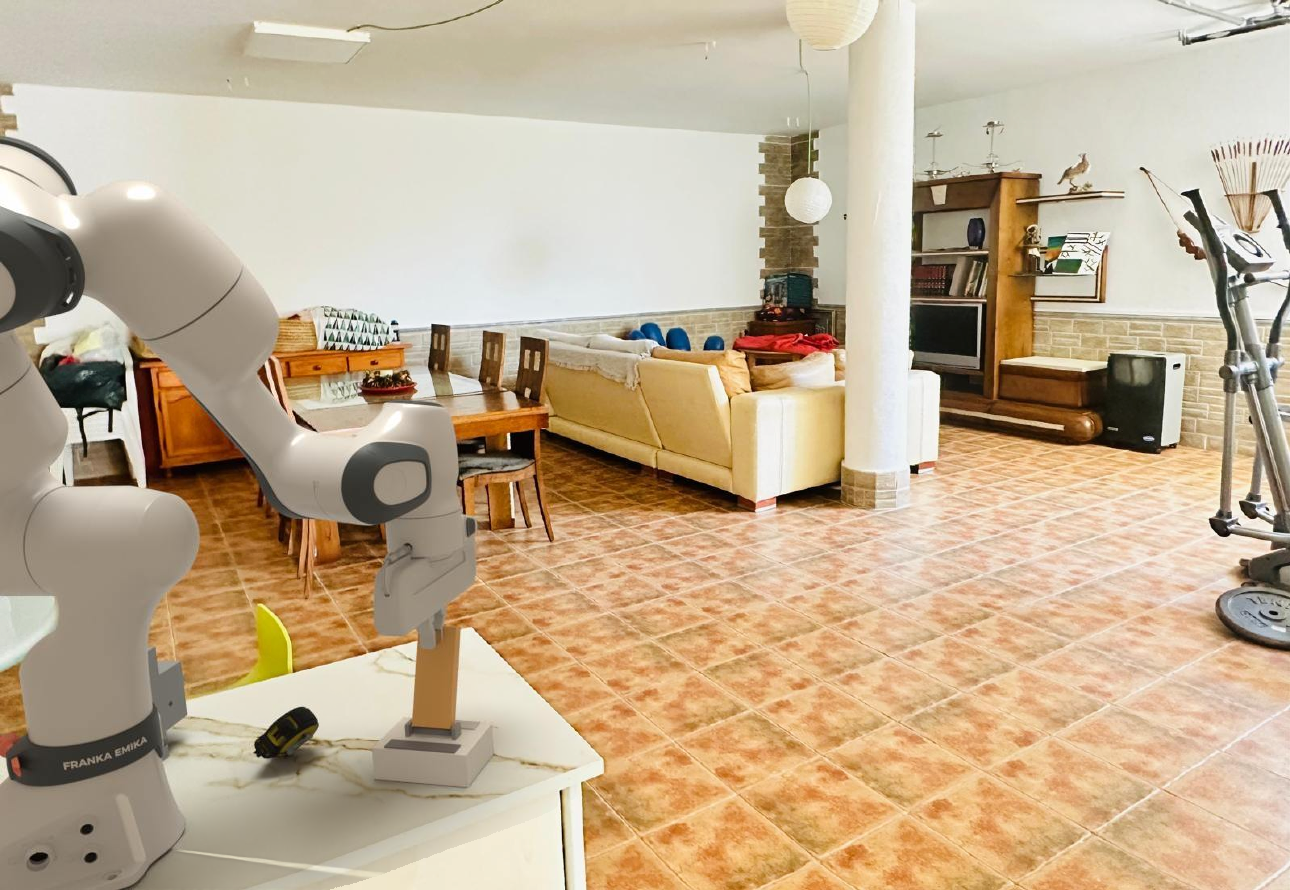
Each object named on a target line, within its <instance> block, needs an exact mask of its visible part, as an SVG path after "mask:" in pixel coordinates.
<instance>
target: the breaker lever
mask: <svg viewBox="0 0 1290 890" xmlns="http://www.w3.org/2000/svg"><path fill="white" fill-rule="evenodd" d="M461 629H462V627H461V626H456V625H455V626H452V625H444V626H443V641H442V642H440V643H439V644H438V645H437V646H436V647H434V648H433V649H423V648H421V646H420V635H419V634H418V633H417V640H416V641H417V643H416V654H415V656H416V659H415V673H414V674H415V675H414V689H413V702H412V717H411V718H412V726H413V729H412V732H413V733H418V734H431V735H444V736H452V734H451V728H452V727H453V726H454V725H455V720H456V713H457V710H456V709H457V694H458V679H459V664H460V648H461V645H460V644H461V634H462V633H461V631H462V630H461Z"/></svg>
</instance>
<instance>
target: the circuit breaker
mask: <svg viewBox="0 0 1290 890" xmlns="http://www.w3.org/2000/svg"><path fill="white" fill-rule="evenodd" d="M148 665H149V677H150V688H151V697H152V702H154V704H155V707H157V709H158V713H159V715H160V720H161V727H162V734H163V744H164V746H163V756H162V761H163V762H164V761H166V760H167V759H168V758H169V757H170V751H169V750H170V749H169V744H165V740H168V734H167V731H168V730H169V729H171V728H172V727H174V726H175V725H176V724H178V723H179V722H180V721H181V720H183V719H185V718H186V717H187V716H188V709H187V700H186V691H185V684H184V683H185V682H186V679H185V678H186V677H185V675H184V674H183V668H182V667H183V666H182V661H178V660H158V656H157V649H156V646H148Z"/></svg>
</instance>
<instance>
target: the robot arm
mask: <svg viewBox="0 0 1290 890" xmlns="http://www.w3.org/2000/svg"><path fill="white" fill-rule="evenodd" d="M77 192H78V191H77V189H76V187H75V184H74V182H73V180H72V178H71V176H70V175H69V173H68V172H67V170H66V169H65V168H64V167H63V165H62V164H60V162H59V161H58V160H57V159H56V158H54V157H53V156H52V155H51V154H49V153H48V152H46V151H45V150H44V149H42V148H41V147H38V146H36V145H34V144H33V143H30V142H29V141H25V140H23V139H19V138H15V137H11V136H4V135H0V597H55V598H56V601H57V605H58V618H57V624H56V627H55V629H54V630H53V631H51V632H50V633H48V634H47V635H45V636H44V637H42V638H41V639H39V640H38V641H37V642H36V643H35V644H33V646H32V647H30V649H29V650H28V651H27V652H26V654H25V655H24V656H23V659H22V660H21V662H20V666H19V670H18V677H19V682H20V689H21V691H20V692H21V696H22V701H23V702H22V703H23V709H24V715H25V722H26V729H27V732H26V733H25V734H24V735H22V736H21V737H20V735H19V734H18V735H17V733H14V732H9V733H5V734H2V736H0V757H2V758H4V759H5V761H6V762H5V763H6V770H7V773H8V777H6V778H5V779H4V780H3V781H2V782H1V783H0V890H121V889H124V888H127V887H130V886H132V885H134V884H136V883H137V882H138V881H139V880H141V878H143V876H144V874H146V872H147V870H148V869H149V867H150V866H151V864H152V863H153V862H155V861H156V860H157V859H159V858H160V857H161V856H163V855H164V854H165V853H166V852H168V851H169V850H170V849H171V848H172V847H173V846H174V845H175V844H176V843H177V842H178V841H179V839H180V838H181V836H182V835H183V833H184V830H185V828H186V819H185V817H184V815H183V813H182V811H181V810H180V808H179V806H178V803H177V802H176V799H175V797H174V795H173V792H172V789H171V786H170V783H169V780H168V777H167V773H166V770H165V766H164V761H162V756H163V746H164V744H163V734H162V727H161V720H160V715H159V713H158V709H157V707H155V704H154V702H152V697H151V688H150V677H149V665H148V647H149V646H148V645H149V641H148V640H149V634H150V629H151V624H152V621H153V618H154V615H155V612H156V610H157V609H158V606H159V604H160V603H161V601H162V599H163V598H164V597H165V596H166V594H168V592H169V591H170V590H171V589H172V588H173V587H174V586H176V585H177V584H179V582H180V581H181V580H182V579H184V577H185V576H186V575H187V574H188V572H189V571H190V570H191V568H192V567H193V565H194V564H195V563H194V562H195V560H196V558H197V555H198V551H199V547H200V537H201V535H200V528H199V524H198V520H197V518H196V515H195V513H194V511H193V510H192V509H191V507H190V506H189V504H188V503H187V502H186V501H185V500H184V499H183V498H182V497H180V496H179V495H177V494H173V493H171V492H166V491H161V490H155V489H151V488H146V487H139V486H135V485H134V486H133V485H102V486H101V485H100V486H99V485H97V486H95V485H94V486H73V485H72V486H71V485H67V484H66V485H65V484H64V483H62V482H61V481H59V480H57V479H56V478H55V477H54V476H53V474H52V473H51V471H50V469H49V468H50V467H51V466H53V464H54V463H55V462H56V461H57V460H58V458H59V457H60V456H61V454H62V453H63V451H64V449H65V447H66V444H67V439H68V435H69V423H68V419H67V416H66V415H65V412H64V411H63V410H62V408H61V406H60V405H59V403H58V401H57V400H56V397H55V396H54V395H53V393H52V391H51V390H50V387H49V386H48V385H47V383H46V381H45V379H44V378H43V376H42V374H41V372H39V370H38V368H37V366H36V365H35V363H34V361H33V360H32V358H31V356H30V355H29V353H28V351H27V350H26V348H25V346H24V344H23V343H22V342H21V339H20V338H19V337H18V336H17V335H18V334H17V333H16V331H15V330H16V329H18V328H21V327H23V326H26V325H28V324H30V323H32V322H34V321H37V320H40V319H44V318H49V317H54V316H58V315H62V314H66V313H68V312H71V311H73V310H74V309H75V308H76V307H77V306H78V305H79V303H80V301H81V299H82V296H85V297H88V298H91V299H93V300H96V301H97V302H99V303H100V304H103V305H104V306H105V307H106V308H107V309H109V311H111V312H112V313H113V314H114V315H116V317H117V318H118V319H119V320H121V322H123V324H124V325H125V326H126V327H127V328H128V329H129V330H130V331H131V332H132V333H133V334H134V335H135V336H136V337H137V338H139V340H141V342H143V344H144V345H145V346H146V347H148V349H149V350H150V351H152V353H153V354H155V356H156V357H158V358H159V359H160V360H161V361H162V363H164V364H165V365H166V366H167V367H168V369H170V370H171V371H172V372H173V373H174V374H175V375H176V376H177V378H178V380H179V381H180V382H181V384H182V385H183V386H184V387H185V389H186V391H188V393H189V394H190V396H191V397H192V398H193V399H194V400H195V402H196V403H197V404H198V405H199V406H200V407H201V409H202V410H203V411H204V412H205V413H206V415H207V416H208V417H209V418H210V419H211V420H212V421H213V422H214V424H215V425H216V426H217V427H218V428H219V429H220V430H221V431H222V432H223V434H224V435H225V436H226V437H227V438H228V439H229V440H230V442H231V443H233V445H234V446H235V447H236V448H237V450H238V451H240V453H241V454H242V455H243V457H244V458H245V459H246V460H247V461H248V463H249V465H250V467H251V469H252V470H253V472H254V475H255V477H256V479H257V482H258V484H259V486H260V489H261V491H262V494H263V495H264V497H265V499H266V501H267V502H268V503H269V505H270V506H271V507H272V508H273V509H274V510H275V511H277V512H278V513H279V514H281V515H283V516H285V517H288V518H291V519H297V520H299V519H300V520H323V521H330V522H336V523H343V524H351V525H357V526H358V525H359V526H360V525H361V526H375V525H381V524H382V525H383V524H385V538H386V551H387V554H386V555H385V557H384V561H383V563H382V566H381V567H380V568H379V569H378V570H377V572H376V574H375V579H374V585H373V625H374V628H375V631H376V632H377V633H378V635H380V636H384V637H406V636H407V635H409V634H410V633H411V632H412V631H414V630H416V632H417V635H418V634H419V635H420V646H421V648H423V649H433V648H434V647H436V646H437V645H438V644H439V643H440V642H442V641H443V626H445V625H444V624H445V621H446V616H447V612H448V611H447V610H448V609H447V605H448V604H450V603H451V602H453V601H454V600H455V599H457V598H458V597H459V596H461V595H462V594H463V593H464V592H466V591H467V590H469V589H470V588H471V587H473V585H474V584H475V583H474V582H475V579H476V576H477V545H476V539H475V536H474V535H475V534H476V533H477V532H478V520H477V517H476V516H472V515H467V514H464V513H463V514H462V506H461V505H462V504H461V501H460V498H459V496H458V490H457V482H458V477H459V472H460V471H459V470H460V469H459V456H458V455H459V454H458V446H457V437H456V431H455V426H454V421H453V419H452V417H451V414H450V412H449V410H448V409H447V407H445V406H443V405H442V404H440V403H437V402H433V401H427V400H426V401H425V400H411V399H392V400H389V401H386V402H384V403H383V404H382V407H381V408H382V409H381V410H380V412H379V413H378V415H377V416H375V418H374V419H373V420H372V421H371V422H369V423H368V424H367V425H366V426H364V427H363V428H362V429H360V430H358V431H356V432H353V433H352V435H341V434H340V435H338V434H326V433H322V432H318V431H313V430H312V429H308V428H306V427H303V426H301V425H300V424H298V423H296V422H295V420H293V419H292V418H291V416H289V414H288V413H287V411H286V410H285V409H284V408H283V407H282V405H281V404H280V402H279V401H278V400H277V399H276V398H275V397H274V395H273V394H272V392H271V391H270V389H268V387H267V386H266V385H265V383H264V382H263V381H262V379H261V378H260V376H259V374H258V371H259V370H260V369H261V368H262V367H263V365H265V364H266V362H267V361H268V360H269V359H270V357H271V355H272V354H273V353H274V350H275V347H276V345H277V341H278V338H279V332H280V320H279V319H280V317H279V313H278V312H277V310H276V308H275V306H274V304H273V302H272V300H271V298H270V297H269V295H268V294H267V292H266V291H265V289H264V288H263V286H262V285H261V284H260V282H259V281H258V280H257V279H256V277H255V276H254V275H253V274H252V273H251V271H250V270H249V269H248V268H247V267H246V266H245V264H244V263H243V262H242V261H241V260H240V259H239V258H238V257H237V255H236V254H235V253H234V252H233V251H232V249H230V247H229V246H228V245H227V244H225V242H224V241H223V240H222V239H221V238H220V237H219V235H217V234H216V232H214V231H213V230H212V229H211V228H210V227H209V226H208V225H206V223H204V221H202V220H201V219H200V218H199V217H198V216H197V215H196V214H194V213H193V211H191V210H190V209H189V208H188V207H187V206H185V205H184V204H183V203H182V202H180V201H179V200H178V199H177V198H176V197H174V196H173V195H172V194H171V193H169V192H168V191H167V190H165V189H164V188H163V187H162V186H160V185H157V184H155V183H152V182H151V181H147V180H141V179H126V180H118V181H115V182H111V183H107V184H105V185H102V186H100V187H98V188H96V189H95V190H93V191H91V192H90V193H89V194H88V193H85V194H81V195H78V193H77ZM71 295H72V296H71ZM70 296H71V298H70ZM69 298H70V301H69V302H67V300H68V299H69ZM14 329H15V330H14Z"/></svg>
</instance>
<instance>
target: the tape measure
mask: <svg viewBox="0 0 1290 890" xmlns="http://www.w3.org/2000/svg"><path fill="white" fill-rule="evenodd" d="M319 726H320V723H319V721H318V718H317V716H316V715H315V714H314V713H313V711H312V710H311V709H310V708H307V707H305V706H298V707H295V708H293V709H290V710H288V711H286V712H285V713H284V714H282V715H281V716H280V717H279V718H278V719H276V720H275V721H274V722H273V723H271V725H270V726H269V727H268V728H267V729H266V731H265V732H264V733H263V734H261V735H260V736H259V737H258V738H256V739H255V741H254V743H253V747H254V749H255V751H253V754H254V755H255V757H256V758H260V757H262V758H263V759H267V760H269V759H272V758H273V759H274V758H282V757H283V758H284V757H287V756H291V755H293V753H294V752H295V751H296V750H297V749H299V748H300V747H301V746H303V745H304V744H306V743H307V742H308V741H310V740H311V739H313V737H314V735H315V733H316V732H317V731H318V728H319Z"/></svg>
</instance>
